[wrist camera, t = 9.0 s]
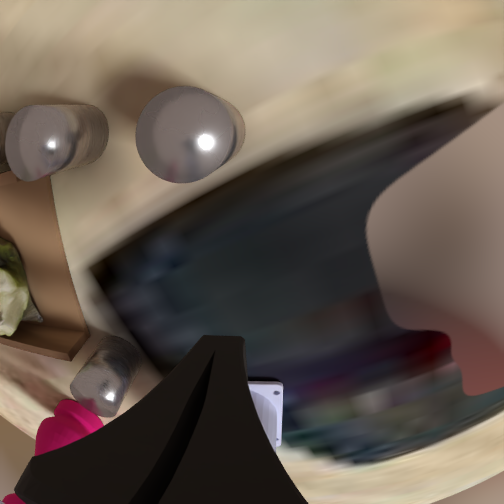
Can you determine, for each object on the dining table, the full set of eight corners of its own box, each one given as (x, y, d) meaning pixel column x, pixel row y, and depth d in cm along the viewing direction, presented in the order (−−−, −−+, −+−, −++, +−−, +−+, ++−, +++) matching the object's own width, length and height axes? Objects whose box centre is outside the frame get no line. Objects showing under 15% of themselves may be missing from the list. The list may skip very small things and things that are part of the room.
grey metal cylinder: (247, 164, 17) (233, 180, 12) (178, 168, 18) (140, 186, 13) (243, 95, 16) (228, 80, 11) (174, 102, 16) (132, 94, 11)
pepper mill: (64, 422, 30) (4, 535, 12) (50, 387, 28) (-30, 514, 9) (112, 441, 30) (59, 569, 12) (102, 409, 28) (31, 558, 9)
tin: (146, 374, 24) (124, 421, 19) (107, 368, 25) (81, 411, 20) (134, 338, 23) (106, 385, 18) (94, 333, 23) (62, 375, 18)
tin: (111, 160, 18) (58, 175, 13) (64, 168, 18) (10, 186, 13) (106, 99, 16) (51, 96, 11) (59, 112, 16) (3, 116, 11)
